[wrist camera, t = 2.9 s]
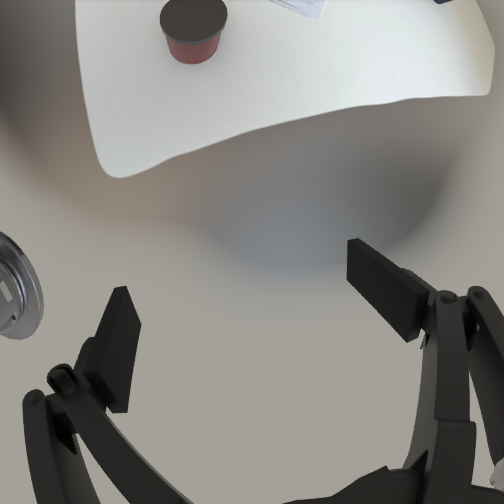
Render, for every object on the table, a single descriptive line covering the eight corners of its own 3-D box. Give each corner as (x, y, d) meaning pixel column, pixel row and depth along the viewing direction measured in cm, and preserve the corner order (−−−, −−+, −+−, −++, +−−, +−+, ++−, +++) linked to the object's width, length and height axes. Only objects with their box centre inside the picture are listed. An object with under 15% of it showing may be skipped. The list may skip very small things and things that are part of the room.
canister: (169, 69, 29) (161, 46, 20) (166, 27, 27) (158, -5, 18) (221, 62, 30) (230, 37, 21) (216, 20, 28) (224, -12, 18)
